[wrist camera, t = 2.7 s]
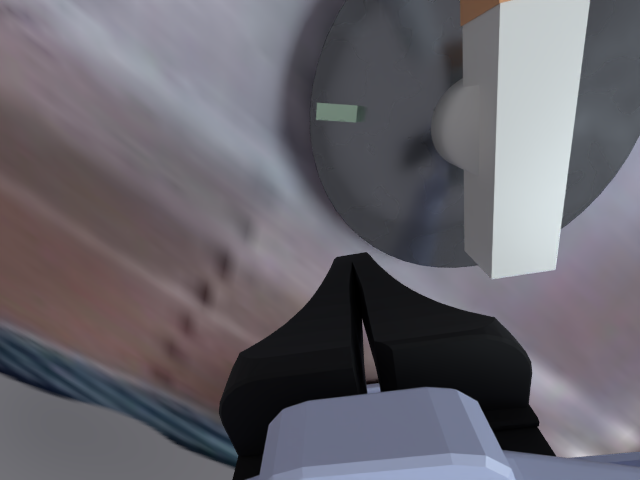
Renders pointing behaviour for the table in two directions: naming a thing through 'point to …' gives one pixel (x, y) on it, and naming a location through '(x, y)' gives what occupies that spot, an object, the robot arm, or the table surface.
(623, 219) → the table surface
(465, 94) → the white bar
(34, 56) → the table surface
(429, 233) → the flange
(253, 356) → the robot arm
